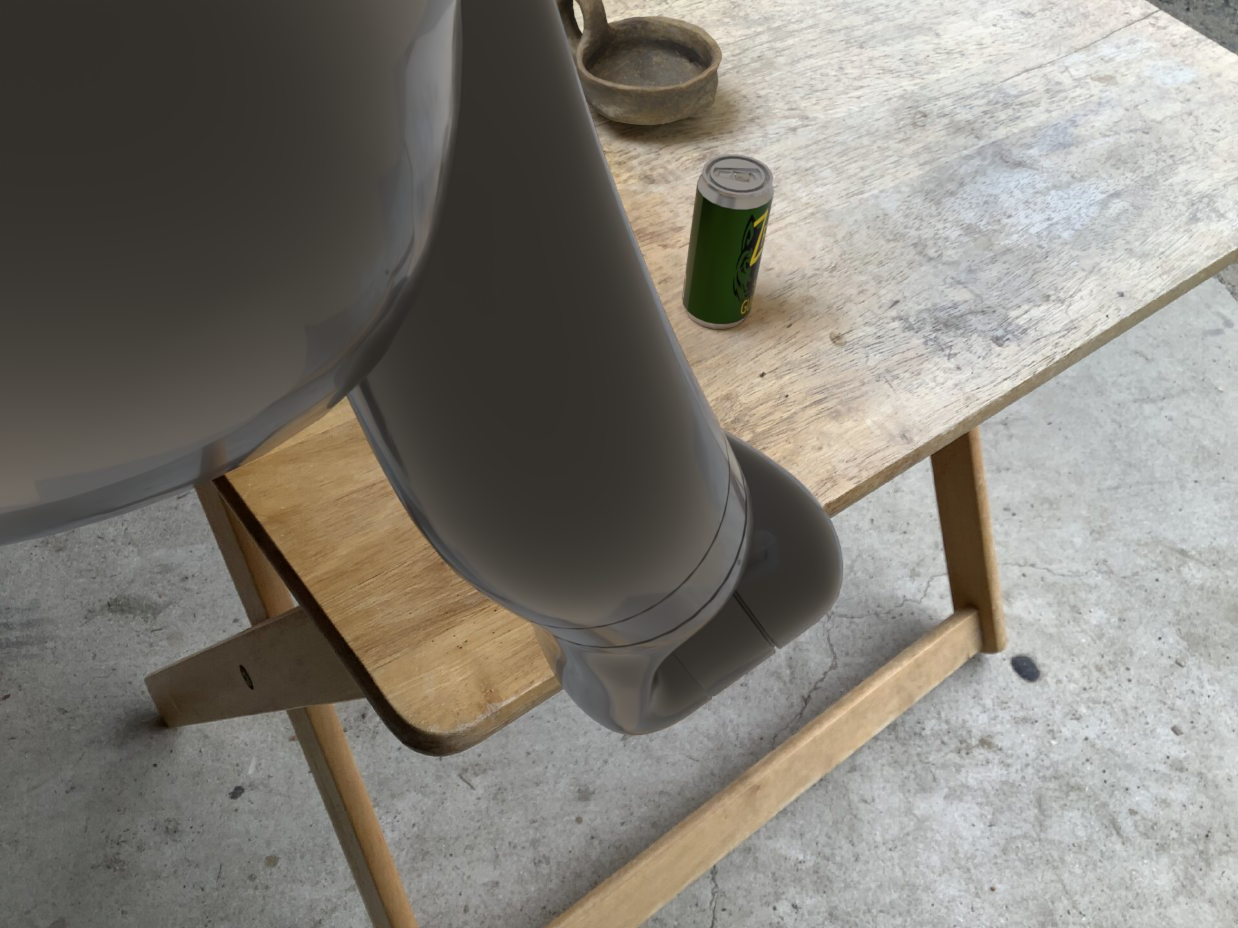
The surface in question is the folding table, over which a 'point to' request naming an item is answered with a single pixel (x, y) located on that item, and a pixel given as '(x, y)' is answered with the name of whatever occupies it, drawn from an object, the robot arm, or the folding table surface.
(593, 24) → the bowl
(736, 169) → the beer can
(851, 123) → the folding table surface
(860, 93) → the folding table surface
